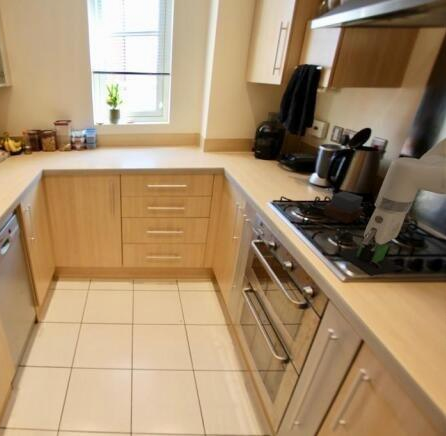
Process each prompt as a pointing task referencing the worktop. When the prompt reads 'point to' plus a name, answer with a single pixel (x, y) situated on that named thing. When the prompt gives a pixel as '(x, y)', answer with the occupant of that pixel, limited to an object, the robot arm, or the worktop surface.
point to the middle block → (346, 200)
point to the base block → (342, 213)
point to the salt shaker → (406, 220)
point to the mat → (385, 263)
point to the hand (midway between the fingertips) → (370, 256)
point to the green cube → (379, 250)
